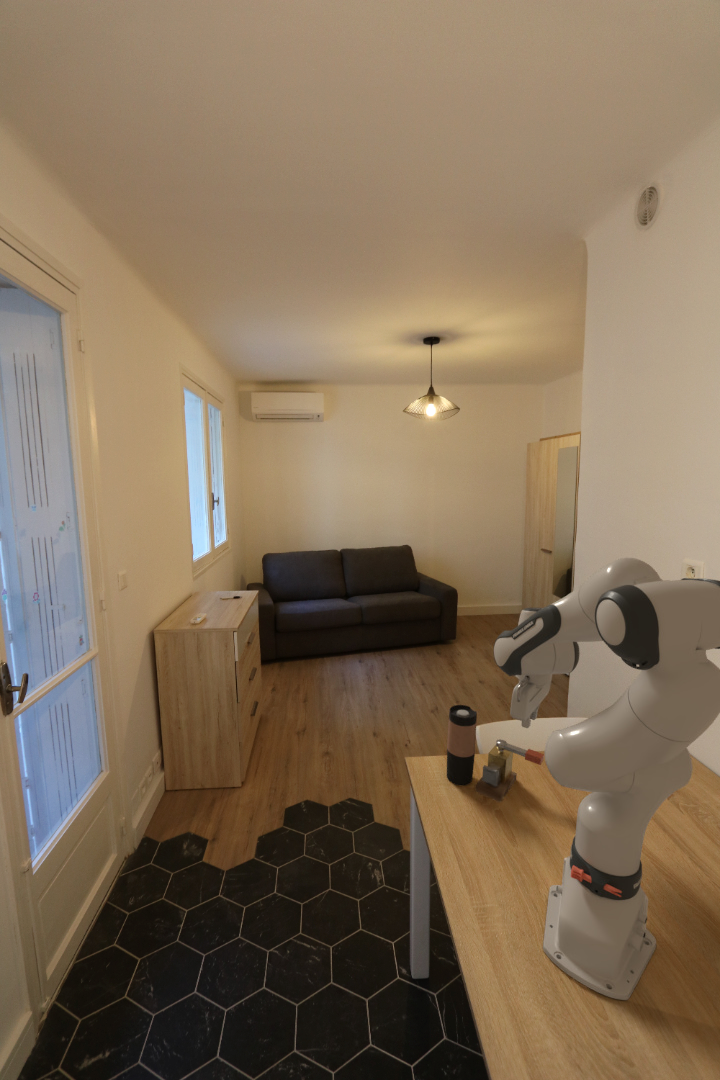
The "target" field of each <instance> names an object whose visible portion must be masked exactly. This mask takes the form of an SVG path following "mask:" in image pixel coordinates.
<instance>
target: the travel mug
mask: <svg viewBox="0 0 720 1080" xmlns="http://www.w3.org/2000/svg"><path fill="white" fill-rule="evenodd" d="M448 713H449V714H448V729H447V744H446V746H447V747H446V779H447V780H448V781H449V782H450V783H452V784H454V785H456V786H460V787H461V786H468V785H470V784H471V783H472V782H473V777H474V776H473V775H474V766H475V755H476V739H477V718H478V717H477V715H478V714H477V711H476V710H473V709H472V708H471V707H470V706H468V705H464V704H455V705H452V706H451V707H450V708H449V712H448Z"/></svg>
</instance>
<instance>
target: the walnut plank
mask: <svg viewBox="0 0 720 1080" xmlns="http://www.w3.org/2000/svg"><path fill="white" fill-rule="evenodd" d="M517 774H518V773H516V772H515V771H512V773H511V776H510V777H509V778H508V780H507V781H506V782H505V784H504V783H502V782H501V783H500V785H499V786H498V788H496V787H493V786H491V785H489V784H486V782H485V781H482V777H483V775H482V777H480V779H479V780H478V781H477V783H476V784H475V789H474V791H475V793H477V794H480V795H483V796H485V797H486V798H489V799H491V800H493V801H495V802H498V803H501V802H502V801H503V799H504V798H505V797H506V796H507V794H508V793H509V791H510V789H511V788H512V787H513V785H514V783H515V782H516V781H517Z"/></svg>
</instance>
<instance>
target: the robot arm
mask: <svg viewBox="0 0 720 1080" xmlns="http://www.w3.org/2000/svg"><path fill="white" fill-rule="evenodd" d="M517 624H518V625H517V626H516V627H515V628H513V629H511V630H503V631H502V632H501V633H500V634H499V635H498V637H496V639H495V642H494V644H493V658H494V659H493V660H494V662H495V664H496V666H498V668H499V669H500V670H501V671H502V672H504V673H505V674H506V675H507V676H509V677H515V678H517V679H518V683H517V684H516V685H515V686H514V688H513V690H512V695H511V701H510V702H511V703H510V710H509V711H510V712H509V713H510V714H509V715H510V717H511V718H513V719H514V720H518V721H521V727H522V728H524V729H529V728H530V726H531V722H532V721H531V720H533V721H535V720H536V719H537V718H538V712H539V711H538V710H539V709H540V705H541V703H542V702H543V700H545V698H546V697H547V696H548V694H549V692H550V690H551V686H552V679H553V675H566V674H570V673H572V672H574V670H575V669H576V667H577V665H578V663H579V660H580V654H581V653H580V646H579V643H580V642H582V643H583V642H585V643H590V642H592V643H593V642H594V643H595V642H602V641H603V642H604V644H606V646H607V648H609V649H610V650H611V652H613V653H614V655H616V656H618V657H620V658H621V660H622V661H623V663H625V665H627V666H628V667H631V668H632V669H635V670H639V671H640V673H639V674H638V675H637V677H635V679H634V680H633V682H631V684H630V685H629V686H628V687H627V688H626V689H625V690H624V692H623V693H621V694H622V695H620V696H619V698H618V699H617V700H616V701H615V702H614V703H613V704H612V705H609V707H607V708H605V709H603V710H601V711H599V712H597V713H596V714H595V715H592V716H591V717H588V718H587V719H584V720H582V721H580V722H578V723H576V724H574V725H570V726H567V727H564V728H561V729H558V730H553V731H552V732H551V733H550V735H549V736H548V738H547V740H546V742H545V745H544V761H545V764H546V767H547V771H548V772H549V773H550V775H551V777H552V778H553V779H554V780H555V782H557V783H558V784H559V786H561V787H564V788H568V789H572V790H576V791H577V790H578V791H582V792H587V793H589V794H587V795H586V796H585V797H583V799H582V800H581V801H580V803H579V805H578V808H577V813H576V814H577V816H576V826H575V827H576V828H575V836H574V837H572V844H571V846H570V852H569V853H570V855H569V856H567V857H565V858H563V866H562V867H563V868H562V880H561V885H560V884H553V885H551V886H550V887H549V890H548V896H547V897H548V899H547V908H546V913H545V914H546V915H545V924H544V932H543V942H542V949H543V952H544V953H545V955H546V956H547V957H548V959H550V960H551V962H552V963H553V964H555V966H557V967H558V968H559V969H560V970H562V971H563V972H564V973H565V974H566V975H568V976H569V977H571V978H572V979H574V980H575V981H577V982H579V983H580V984H581V985H584V986H585V987H587V988H589V989H591V990H593V991H595V992H596V993H599V994H601V995H603V996H605V997H609V998H611V999H615V1000H619V1001H621V1000H622V1001H627V1000H629V999H630V997H631V995H632V994H633V993H634V990H635V989H636V987H637V985H638V983H639V981H640V979H641V977H642V975H643V973H644V971H645V970H646V967H647V965H648V963H649V962H650V960H651V958H652V957H653V954H654V952H655V950H656V949H657V940H656V937H655V936H654V935H653V933H651V931H650V930H649V929H648V928H647V921H648V906H649V897H648V896H647V894H646V893H645V891H644V890H643V888H642V886H641V884H642V878H643V863H642V860H641V857H642V850H643V844H644V838H645V834H646V830H647V827H648V825H649V823H650V822H651V820H652V818H653V817H654V815H655V813H656V812H657V811H658V809H659V807H661V806H662V804H663V803H664V802H665V801H666V800H667V799H668V798H669V797H670V796H672V795H673V794H674V793H675V792H676V791H678V790H680V789H682V788H684V787H686V786H687V785H688V784H689V782H690V780H691V779H692V775H693V770H694V769H693V760H692V757H691V754H690V751H689V749H688V747H689V746H690V745H691V744H693V743H694V742H695V741H696V740H697V739H698V738H700V736H702V734H704V733H705V732H706V731H707V730H708V729H709V727H711V726H712V724H713V723H714V722H715V720H716V719H717V718H718V716H719V715H720V668H719V667H718V666H717V665H716V664H715V663H714V662H712V661H711V660H710V659H708V656H707V651H708V650H713V649H715V650H720V580H717V579H711V578H689V577H688V578H687V577H684V578H681V579H676V580H675V579H673V580H670V579H668V580H667V579H666V580H663V579H662V578H661V577H660V575H659V574H658V572H657V571H656V570H655V569H654V568H653V566H651V564H648V563H647V562H645V561H643V560H641V559H637V558H633V557H622V558H621V557H620V558H617V559H615V560H613V561H611V562H609V563H608V564H605V565H603V566H602V567H601V568H600V569H598V570H596V571H595V572H594V573H593V574H592V575H590V576H589V577H588V578H587V579H586V580H585V581H584V582H583V583H581V584H580V585H579V586H578V587H577V588H576V589H574V590H572V591H571V592H570V593H568V594H566V596H563V597H562V598H560V599H558V600H557V601H554V602H552V603H550V604H548V605H546V606H544V607H526V608H525V607H524V608H523V609H522V610H521V611H520V614H519V619H518V623H517Z"/></svg>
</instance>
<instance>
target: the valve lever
mask: <svg viewBox="0 0 720 1080" xmlns="http://www.w3.org/2000/svg"><path fill="white" fill-rule="evenodd" d="M495 745H496V747H497V748H498V749H500V750H507V751H510V752H513V754H516V755H518V756H521V757H524V760H526V761H529V762H531V763H533V764H536V765H539V766H541V765H542V763H543V761H544V760H545V753H541V752H539V751H536V750H534V749H531V748H528V749H524V748H521V747H519V746H516V745H513V744H511V743H508V742H507V741H506V740H504V739H496V741H495Z"/></svg>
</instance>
